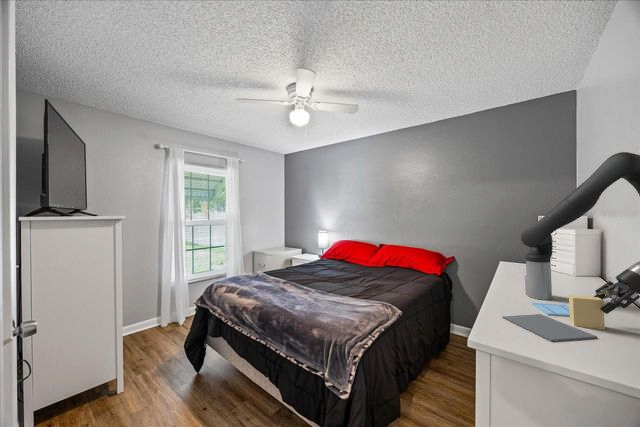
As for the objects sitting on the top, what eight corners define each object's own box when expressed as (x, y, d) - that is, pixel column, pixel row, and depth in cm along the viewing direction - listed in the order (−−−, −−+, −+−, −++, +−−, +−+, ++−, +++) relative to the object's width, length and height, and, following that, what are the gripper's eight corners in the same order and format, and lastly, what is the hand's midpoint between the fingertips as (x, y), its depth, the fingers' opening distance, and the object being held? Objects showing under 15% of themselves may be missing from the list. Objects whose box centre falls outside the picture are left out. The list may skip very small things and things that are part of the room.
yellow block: (574, 326, 94) (572, 297, 95) (570, 322, 98) (568, 295, 98) (604, 329, 91) (603, 300, 91) (599, 325, 94) (598, 297, 94)
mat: (502, 318, 103) (502, 316, 103) (540, 315, 105) (540, 314, 105) (551, 341, 84) (550, 339, 84) (597, 338, 85) (597, 336, 85)
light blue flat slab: (585, 319, 101) (585, 315, 101) (547, 316, 105) (547, 313, 105) (565, 307, 114) (565, 304, 114) (531, 305, 118) (531, 302, 118)
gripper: (617, 264, 96) (576, 293, 101) (643, 272, 83) (596, 305, 88) (638, 280, 94) (596, 309, 99) (669, 291, 81) (619, 323, 86)
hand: (596, 307), depth 93 cm, fingers open, 8 cm apart
